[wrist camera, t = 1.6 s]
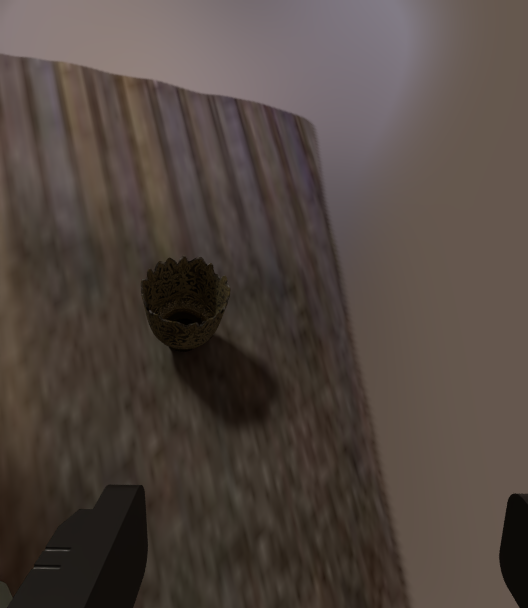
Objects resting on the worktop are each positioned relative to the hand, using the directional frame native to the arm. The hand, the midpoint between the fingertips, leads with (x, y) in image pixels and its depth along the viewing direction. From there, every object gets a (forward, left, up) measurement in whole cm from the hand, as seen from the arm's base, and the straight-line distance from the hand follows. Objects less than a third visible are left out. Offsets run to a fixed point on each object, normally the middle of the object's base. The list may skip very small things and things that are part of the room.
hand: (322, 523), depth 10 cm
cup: (-4, +22, -28) cm, 36 cm away
